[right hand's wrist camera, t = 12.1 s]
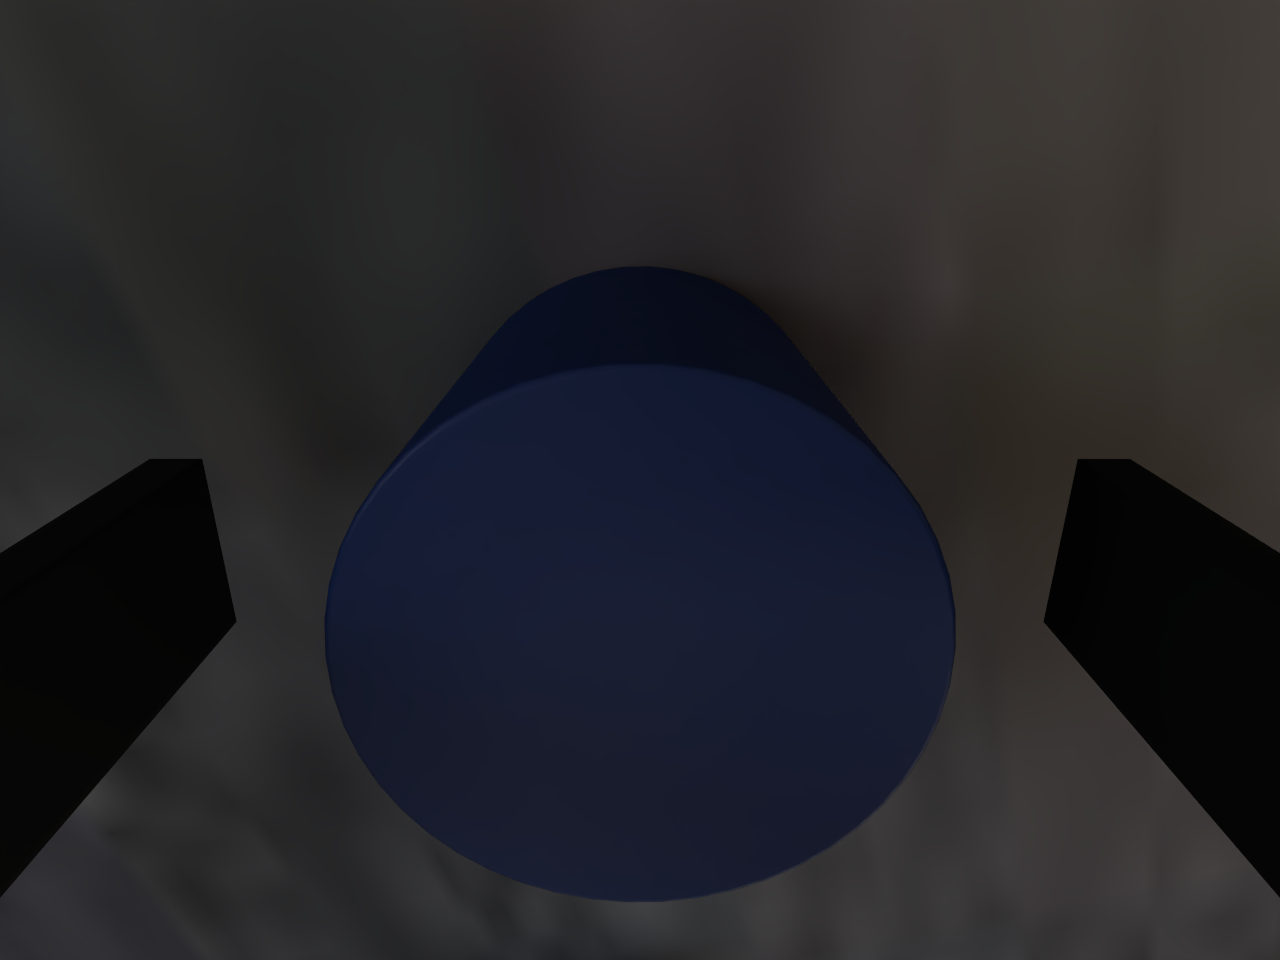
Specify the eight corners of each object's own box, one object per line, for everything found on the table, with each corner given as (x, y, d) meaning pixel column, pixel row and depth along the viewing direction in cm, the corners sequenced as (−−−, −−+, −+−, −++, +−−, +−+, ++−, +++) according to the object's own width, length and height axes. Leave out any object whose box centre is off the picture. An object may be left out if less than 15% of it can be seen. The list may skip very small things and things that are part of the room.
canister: (395, 342, 15) (199, 497, 8) (763, 207, 14) (873, 257, 8) (539, 650, 18) (478, 959, 11) (861, 551, 17) (1011, 821, 10)
